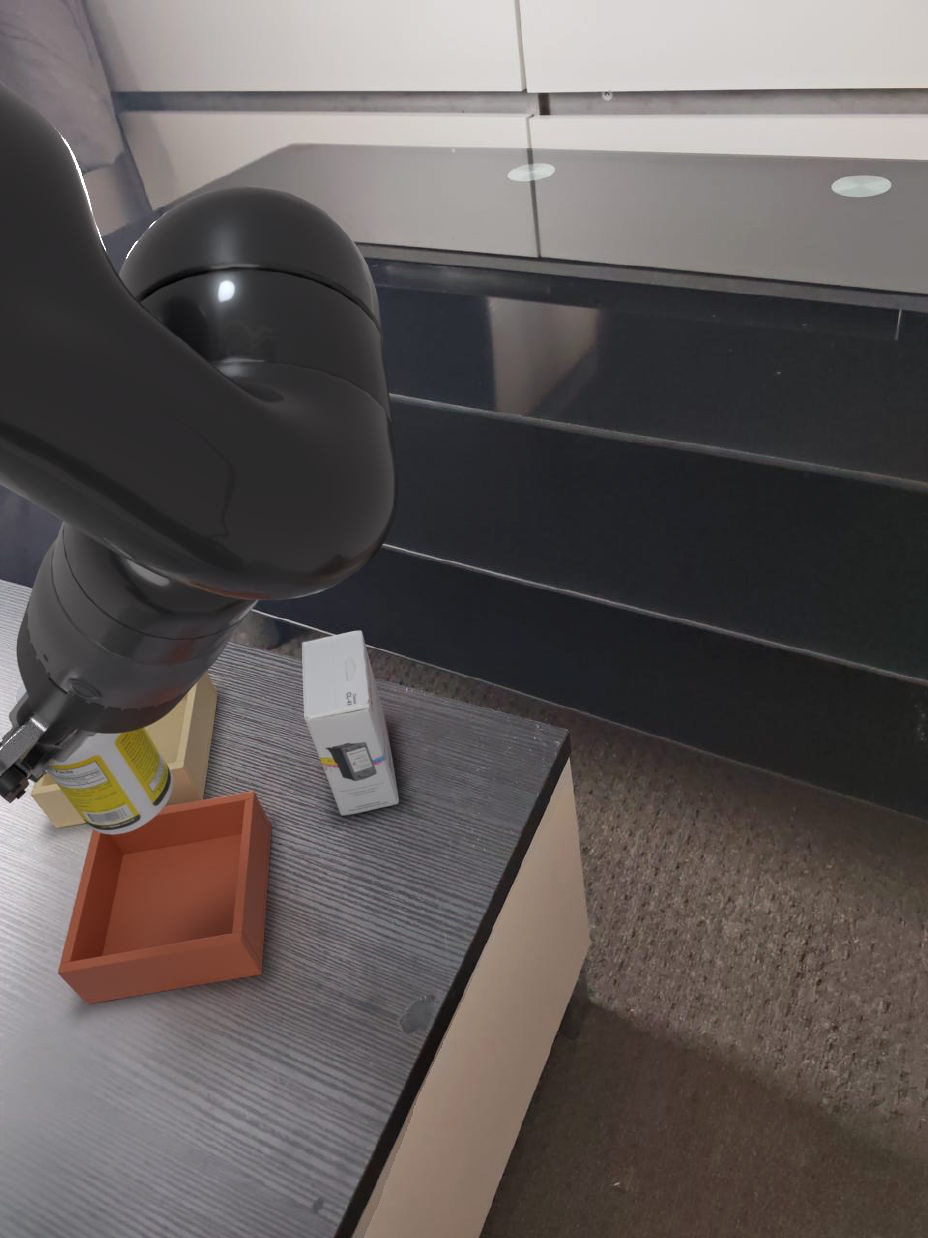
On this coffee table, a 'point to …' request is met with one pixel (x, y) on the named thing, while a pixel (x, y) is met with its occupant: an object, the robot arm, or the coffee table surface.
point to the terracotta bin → (171, 902)
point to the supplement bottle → (114, 780)
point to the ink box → (348, 722)
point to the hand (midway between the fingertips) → (66, 726)
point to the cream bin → (178, 742)
